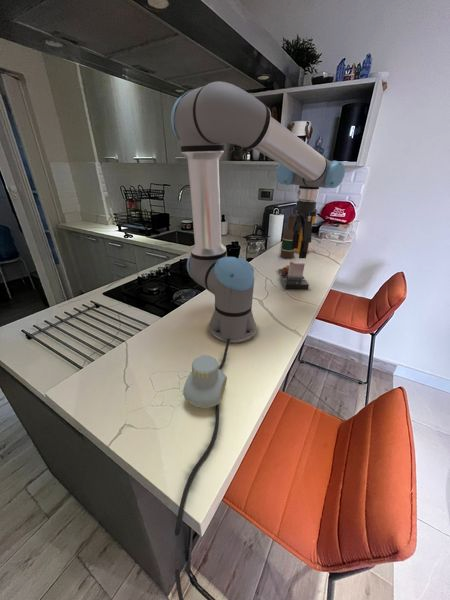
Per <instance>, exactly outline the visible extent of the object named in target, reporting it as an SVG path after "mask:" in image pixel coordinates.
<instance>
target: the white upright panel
mask: <svg viewBox="0 0 450 600" xmlns="http://www.w3.org/2000/svg"><path fill="white" fill-rule="evenodd" d="M288 265H289V270H288V277H287V278H288V280H302V276H303V277H304V270H305V262H304V261H293V260H290V261H289V263H288Z"/></svg>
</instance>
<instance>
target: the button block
mask: <svg viewBox="0 0 450 600" xmlns="http://www.w3.org/2000/svg"><path fill="white" fill-rule="evenodd" d="M278 274H280V276H281V274H282V275H288V271H287V270H286V266H284V267H282V268H278Z"/></svg>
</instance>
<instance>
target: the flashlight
mask: <svg viewBox="0 0 450 600" xmlns="http://www.w3.org/2000/svg"><path fill="white" fill-rule="evenodd" d="M317 213H318V208H315V211H314V212H310V216H313V219H312V226H313V225H314V223H315V222H316V218H317ZM300 231H301V233H298V234H300V237H299V243H298V249H295V251H294V252H295V253H297V254H299V253H300V247H301V241H302V228H301V230H300ZM309 246H310V243H309V244H308V248H309ZM308 251H309V249H308V250H307V253H308Z"/></svg>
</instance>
